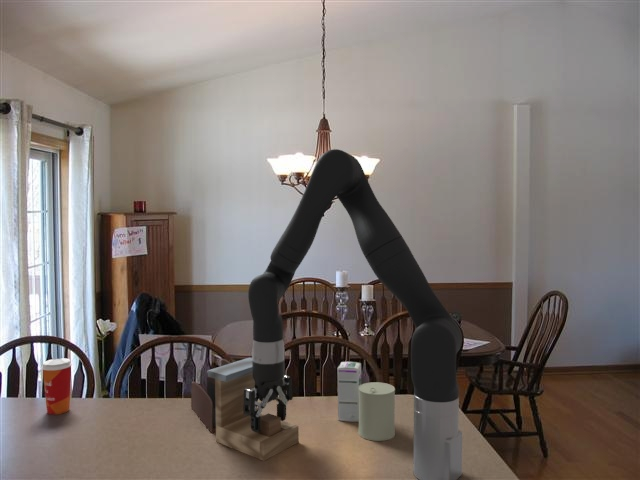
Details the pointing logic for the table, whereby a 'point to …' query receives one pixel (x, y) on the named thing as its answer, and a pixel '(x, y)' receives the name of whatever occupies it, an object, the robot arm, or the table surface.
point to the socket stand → (235, 424)
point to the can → (376, 411)
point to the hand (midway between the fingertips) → (269, 425)
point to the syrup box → (348, 391)
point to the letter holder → (206, 401)
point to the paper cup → (57, 385)
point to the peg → (270, 425)
